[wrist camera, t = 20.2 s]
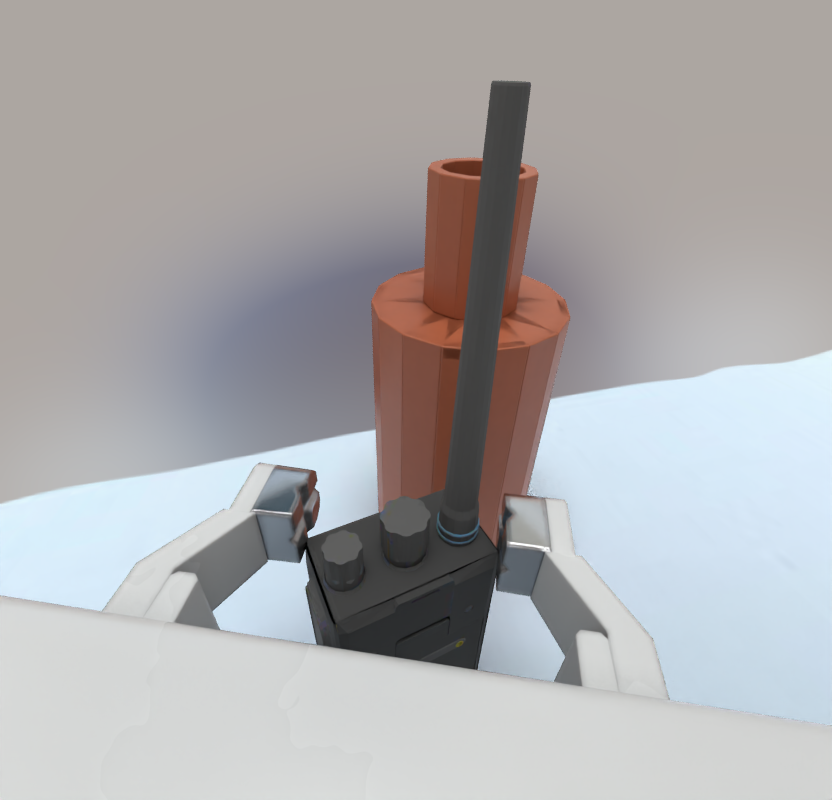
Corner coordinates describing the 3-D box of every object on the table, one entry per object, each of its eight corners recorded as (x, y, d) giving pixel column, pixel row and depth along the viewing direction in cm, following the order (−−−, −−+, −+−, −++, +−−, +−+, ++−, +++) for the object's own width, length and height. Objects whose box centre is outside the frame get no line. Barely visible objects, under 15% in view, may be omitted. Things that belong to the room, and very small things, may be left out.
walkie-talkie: (431, 640, 20) (482, 75, 8) (473, 721, 18) (630, 87, 6) (324, 694, 18) (192, 71, 6) (354, 791, 16) (231, 85, 4)
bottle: (512, 482, 28) (582, 153, 17) (516, 594, 22) (626, 203, 11) (393, 468, 28) (391, 144, 18) (367, 573, 23) (341, 186, 12)
